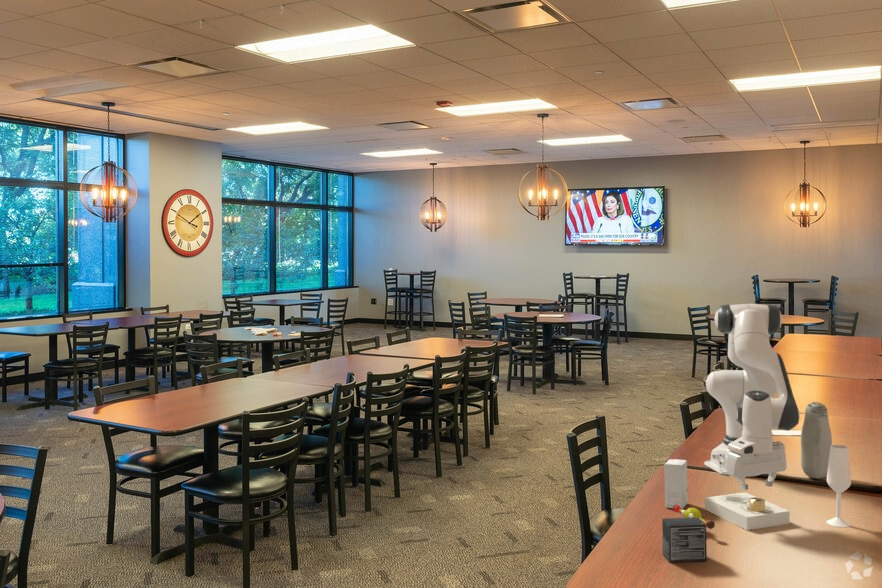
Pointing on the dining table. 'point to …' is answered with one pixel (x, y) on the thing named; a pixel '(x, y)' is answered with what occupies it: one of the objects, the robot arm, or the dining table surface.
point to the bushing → (757, 504)
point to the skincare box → (676, 483)
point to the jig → (746, 511)
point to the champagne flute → (838, 479)
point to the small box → (684, 539)
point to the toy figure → (693, 515)
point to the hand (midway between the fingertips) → (756, 487)
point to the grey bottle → (815, 441)
